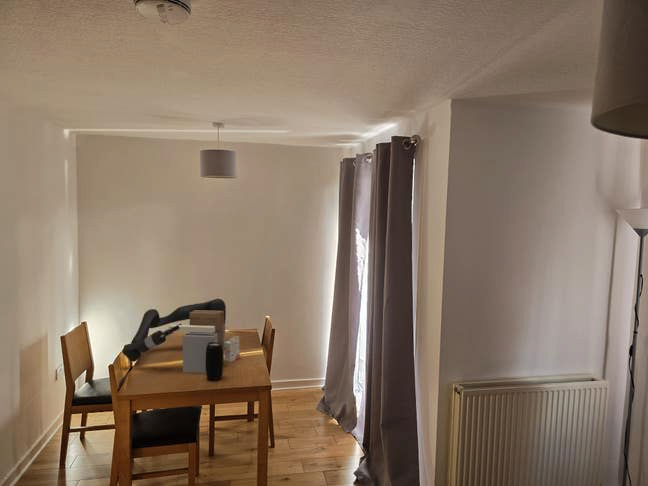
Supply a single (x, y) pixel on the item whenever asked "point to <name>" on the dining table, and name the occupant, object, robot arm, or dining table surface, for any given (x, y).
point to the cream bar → (194, 328)
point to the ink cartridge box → (232, 349)
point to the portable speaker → (214, 361)
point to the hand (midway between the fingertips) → (180, 325)
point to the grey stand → (196, 351)
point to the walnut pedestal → (209, 322)
